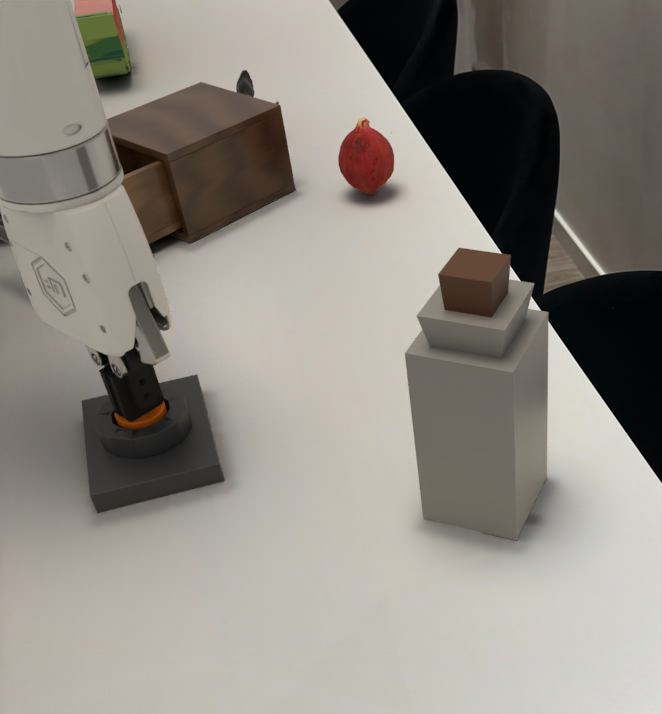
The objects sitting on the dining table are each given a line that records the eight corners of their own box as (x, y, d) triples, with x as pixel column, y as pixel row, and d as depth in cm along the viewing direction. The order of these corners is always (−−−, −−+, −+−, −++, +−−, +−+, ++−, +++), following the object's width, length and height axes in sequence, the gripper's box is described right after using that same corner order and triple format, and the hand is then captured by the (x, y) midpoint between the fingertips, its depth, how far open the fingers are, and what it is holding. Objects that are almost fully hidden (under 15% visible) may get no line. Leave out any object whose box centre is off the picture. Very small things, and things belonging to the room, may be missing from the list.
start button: (119, 419, 73) (112, 400, 71) (167, 407, 73) (161, 389, 72) (123, 447, 70) (116, 428, 69) (173, 435, 71) (167, 416, 70)
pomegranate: (384, 209, 101) (375, 132, 95) (334, 203, 102) (323, 127, 97) (405, 185, 105) (398, 110, 99) (357, 180, 106) (347, 106, 101)
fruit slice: (88, 41, 146) (65, -32, 139) (130, 36, 147) (110, -38, 140) (92, 100, 128) (66, 19, 121) (140, 93, 129) (117, 12, 122)
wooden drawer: (53, 299, 88) (23, 225, 83) (-15, 265, 94) (-46, 193, 89) (214, 219, 99) (196, 148, 94) (145, 192, 104) (125, 124, 99)
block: (88, 417, 76) (73, 381, 74) (202, 391, 78) (191, 355, 76) (97, 513, 68) (81, 476, 66) (224, 481, 70) (213, 443, 68)
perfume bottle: (516, 540, 64) (511, 303, 52) (423, 519, 66) (397, 285, 54) (547, 477, 69) (549, 244, 56) (458, 458, 71) (442, 230, 58)
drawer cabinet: (190, 243, 97) (166, 154, 91) (115, 212, 103) (87, 126, 97) (295, 189, 105) (280, 104, 99) (220, 163, 111) (201, 81, 105)
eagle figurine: (299, 125, 115) (266, 89, 120) (263, 84, 109) (230, 48, 114) (254, 170, 116) (223, 133, 121) (215, 132, 110) (184, 95, 115)
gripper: (-69, 157, 59) (38, 399, 72) (72, 217, 52) (164, 474, 65) (37, 117, 64) (121, 352, 76) (181, 168, 56) (248, 418, 69)
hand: (140, 408), depth 70 cm, fingers closed
